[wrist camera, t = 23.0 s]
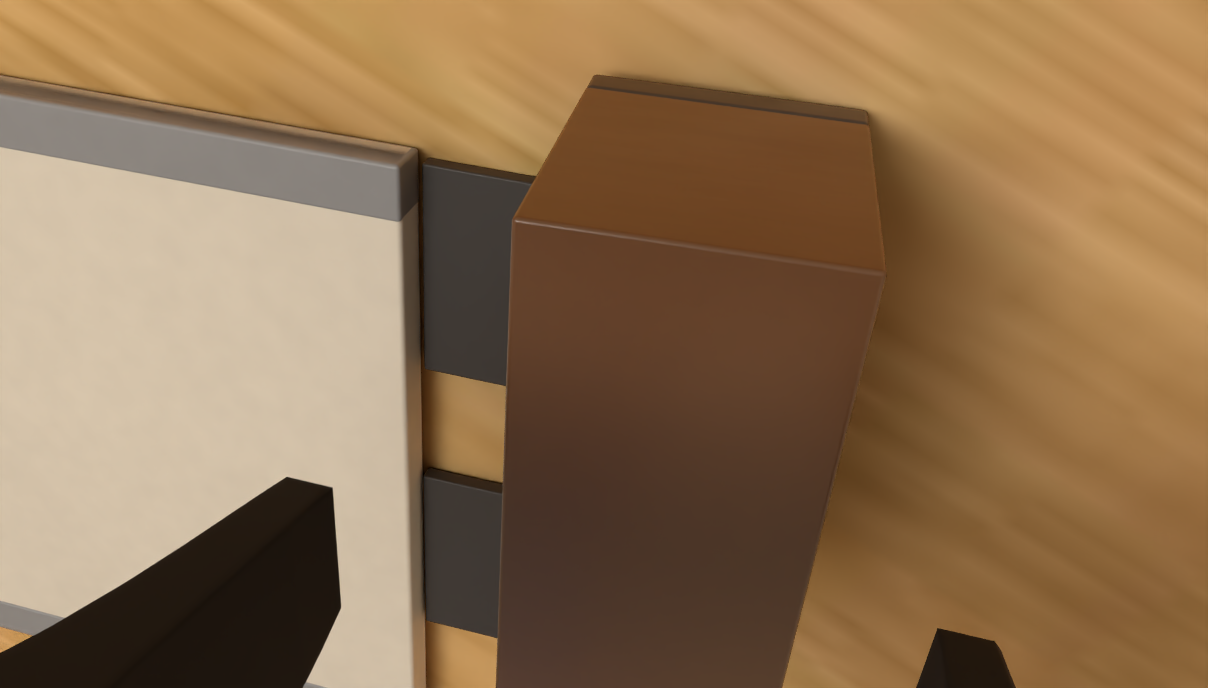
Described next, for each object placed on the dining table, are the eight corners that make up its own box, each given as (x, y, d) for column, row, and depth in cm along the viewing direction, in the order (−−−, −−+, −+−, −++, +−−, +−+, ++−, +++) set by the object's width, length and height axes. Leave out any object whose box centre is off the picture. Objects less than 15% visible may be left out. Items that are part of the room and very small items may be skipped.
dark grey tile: (588, 393, 19) (584, 403, 19) (429, 360, 19) (423, 369, 19) (607, 189, 17) (602, 196, 17) (428, 156, 17) (421, 163, 17)
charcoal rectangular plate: (564, 644, 22) (560, 654, 22) (430, 610, 23) (425, 620, 23) (576, 500, 20) (572, 509, 20) (428, 466, 21) (422, 476, 21)
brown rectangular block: (776, 527, 19) (764, 759, 15) (562, 490, 20) (494, 706, 16) (869, 108, 15) (888, 273, 11) (593, 72, 16) (511, 216, 11)
